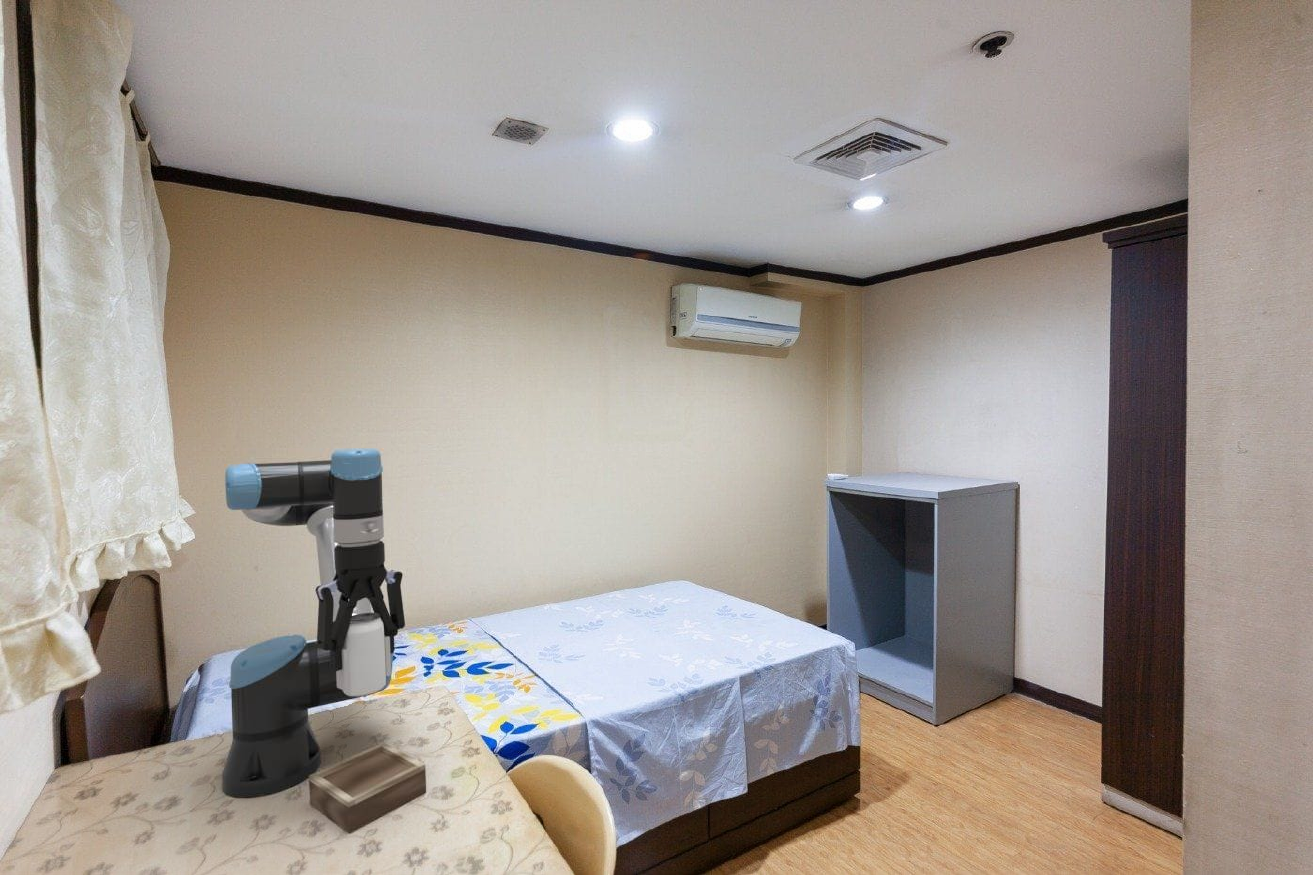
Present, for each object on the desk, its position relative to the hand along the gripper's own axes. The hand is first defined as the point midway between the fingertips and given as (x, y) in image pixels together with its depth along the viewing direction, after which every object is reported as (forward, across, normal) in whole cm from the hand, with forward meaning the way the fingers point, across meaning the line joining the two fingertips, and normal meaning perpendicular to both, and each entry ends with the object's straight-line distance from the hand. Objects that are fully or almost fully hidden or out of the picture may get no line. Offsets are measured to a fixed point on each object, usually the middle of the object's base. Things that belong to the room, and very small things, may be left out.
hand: (364, 680), depth 105 cm
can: (+2, 0, 0) cm, 2 cm away
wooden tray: (+20, 0, 0) cm, 20 cm away
